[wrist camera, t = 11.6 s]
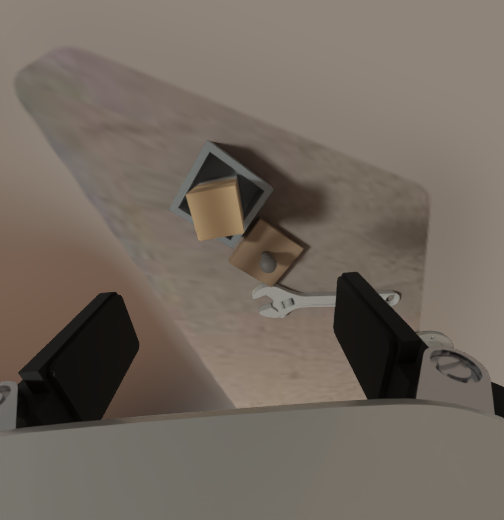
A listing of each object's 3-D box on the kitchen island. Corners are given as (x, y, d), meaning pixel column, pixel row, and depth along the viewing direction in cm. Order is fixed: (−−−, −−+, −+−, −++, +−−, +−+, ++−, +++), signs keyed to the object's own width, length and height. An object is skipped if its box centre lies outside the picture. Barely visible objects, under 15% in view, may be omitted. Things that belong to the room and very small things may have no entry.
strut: (237, 173, 30) (235, 185, 20) (243, 207, 32) (244, 233, 22) (203, 179, 30) (185, 194, 20) (211, 212, 32) (198, 241, 22)
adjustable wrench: (396, 287, 41) (403, 293, 39) (384, 317, 43) (390, 323, 42) (254, 280, 39) (255, 286, 37) (251, 311, 41) (251, 318, 40)
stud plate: (301, 245, 36) (311, 260, 31) (270, 282, 39) (274, 302, 33) (259, 216, 34) (262, 228, 29) (229, 258, 36) (227, 276, 31)
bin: (269, 183, 32) (274, 189, 27) (233, 235, 35) (232, 248, 30) (212, 141, 29) (206, 139, 25) (178, 201, 32) (168, 209, 28)
